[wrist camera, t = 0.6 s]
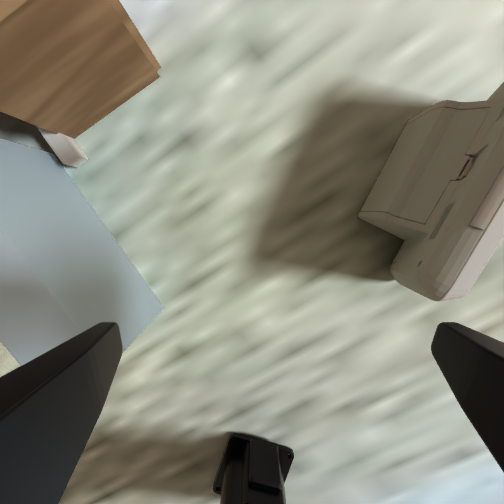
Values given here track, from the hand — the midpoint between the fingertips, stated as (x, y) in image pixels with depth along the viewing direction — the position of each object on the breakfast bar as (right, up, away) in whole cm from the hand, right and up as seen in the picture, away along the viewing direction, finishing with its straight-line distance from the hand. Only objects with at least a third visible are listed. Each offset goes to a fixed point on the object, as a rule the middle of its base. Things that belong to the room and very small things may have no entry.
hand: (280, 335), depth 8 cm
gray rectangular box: (-15, +3, +17) cm, 22 cm away
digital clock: (+14, +8, +16) cm, 23 cm away
